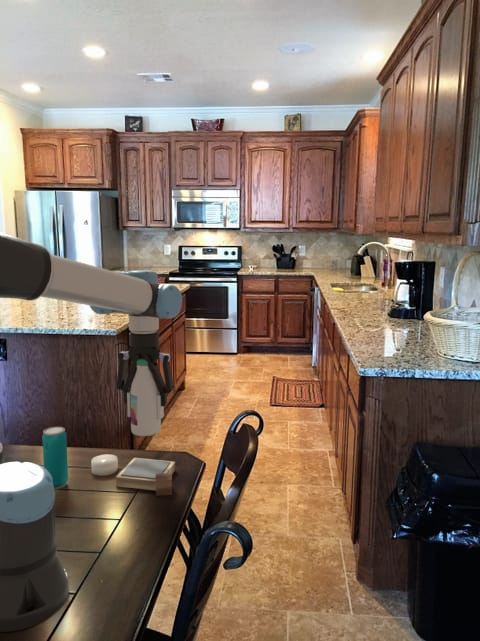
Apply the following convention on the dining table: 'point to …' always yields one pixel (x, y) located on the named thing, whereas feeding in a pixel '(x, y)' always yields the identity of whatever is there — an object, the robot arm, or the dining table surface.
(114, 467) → the white rounded block
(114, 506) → the dining table surface
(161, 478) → the tan wooden block
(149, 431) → the milk bottle
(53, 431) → the beverage can
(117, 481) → the wooden picture frame
